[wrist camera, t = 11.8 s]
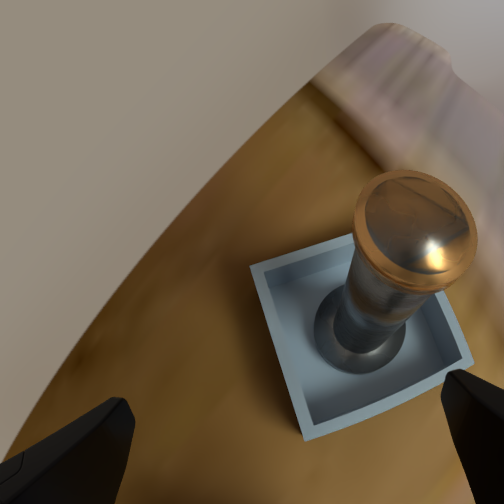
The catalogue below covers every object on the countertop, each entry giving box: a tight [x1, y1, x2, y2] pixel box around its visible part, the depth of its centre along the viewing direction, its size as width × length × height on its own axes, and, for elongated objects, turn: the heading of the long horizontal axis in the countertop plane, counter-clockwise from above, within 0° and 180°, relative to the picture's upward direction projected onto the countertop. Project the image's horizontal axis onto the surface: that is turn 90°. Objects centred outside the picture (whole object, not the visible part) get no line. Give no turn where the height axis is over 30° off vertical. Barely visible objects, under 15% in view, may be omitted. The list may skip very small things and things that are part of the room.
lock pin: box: [313, 170, 478, 375], centre depth 14 cm, size 6×6×12 cm
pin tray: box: [250, 233, 474, 441], centre depth 19 cm, size 11×11×4 cm
